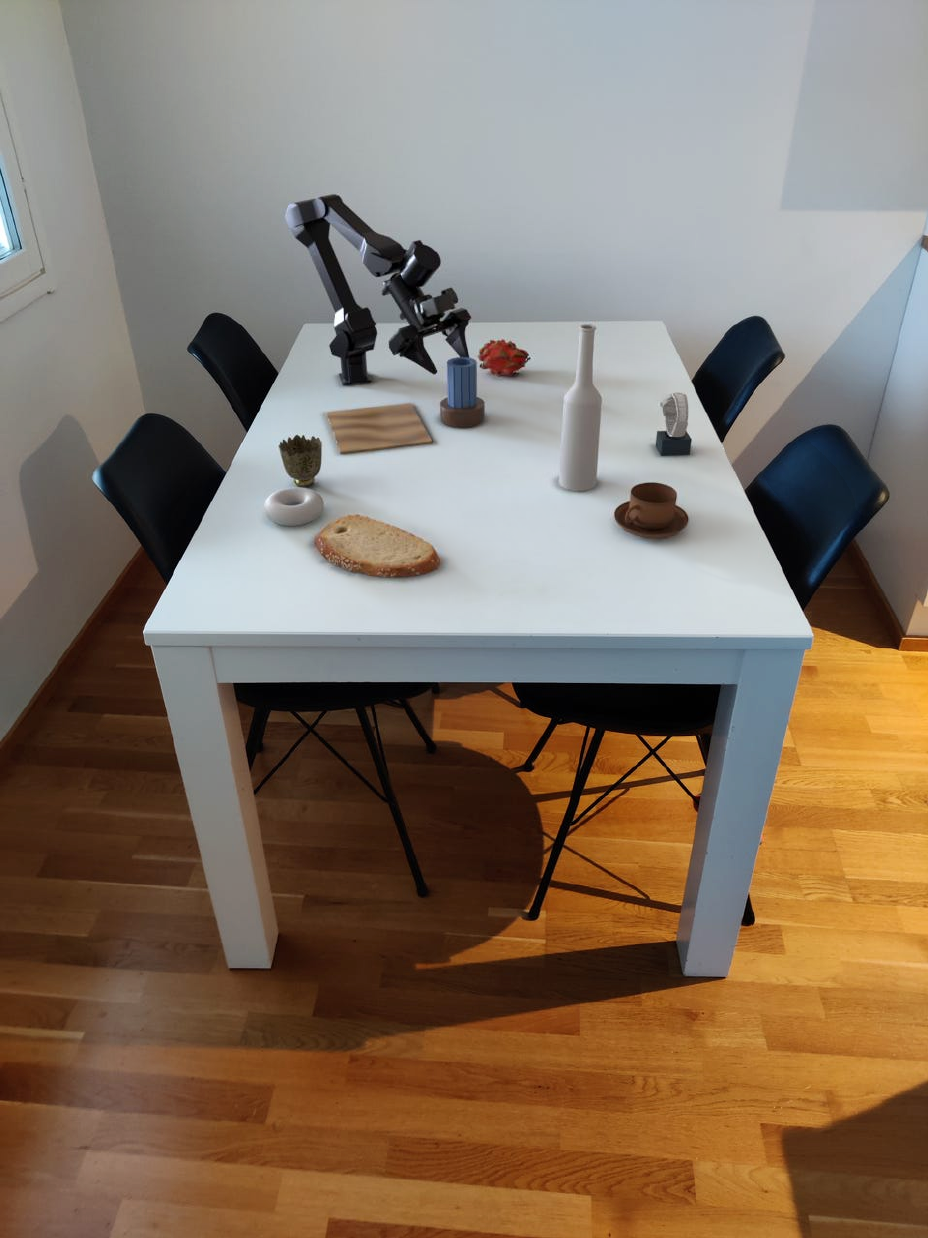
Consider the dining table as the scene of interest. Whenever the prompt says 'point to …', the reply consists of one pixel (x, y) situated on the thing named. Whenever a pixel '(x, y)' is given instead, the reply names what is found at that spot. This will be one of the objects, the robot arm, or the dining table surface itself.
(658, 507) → the cup and saucer
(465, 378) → the sleeve
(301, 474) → the cup
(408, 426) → the wooden board
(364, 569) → the bread slice
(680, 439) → the watch
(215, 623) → the dining table surface
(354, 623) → the dining table surface
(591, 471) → the bottle
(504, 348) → the dragon fruit
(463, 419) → the stand
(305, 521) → the donut
